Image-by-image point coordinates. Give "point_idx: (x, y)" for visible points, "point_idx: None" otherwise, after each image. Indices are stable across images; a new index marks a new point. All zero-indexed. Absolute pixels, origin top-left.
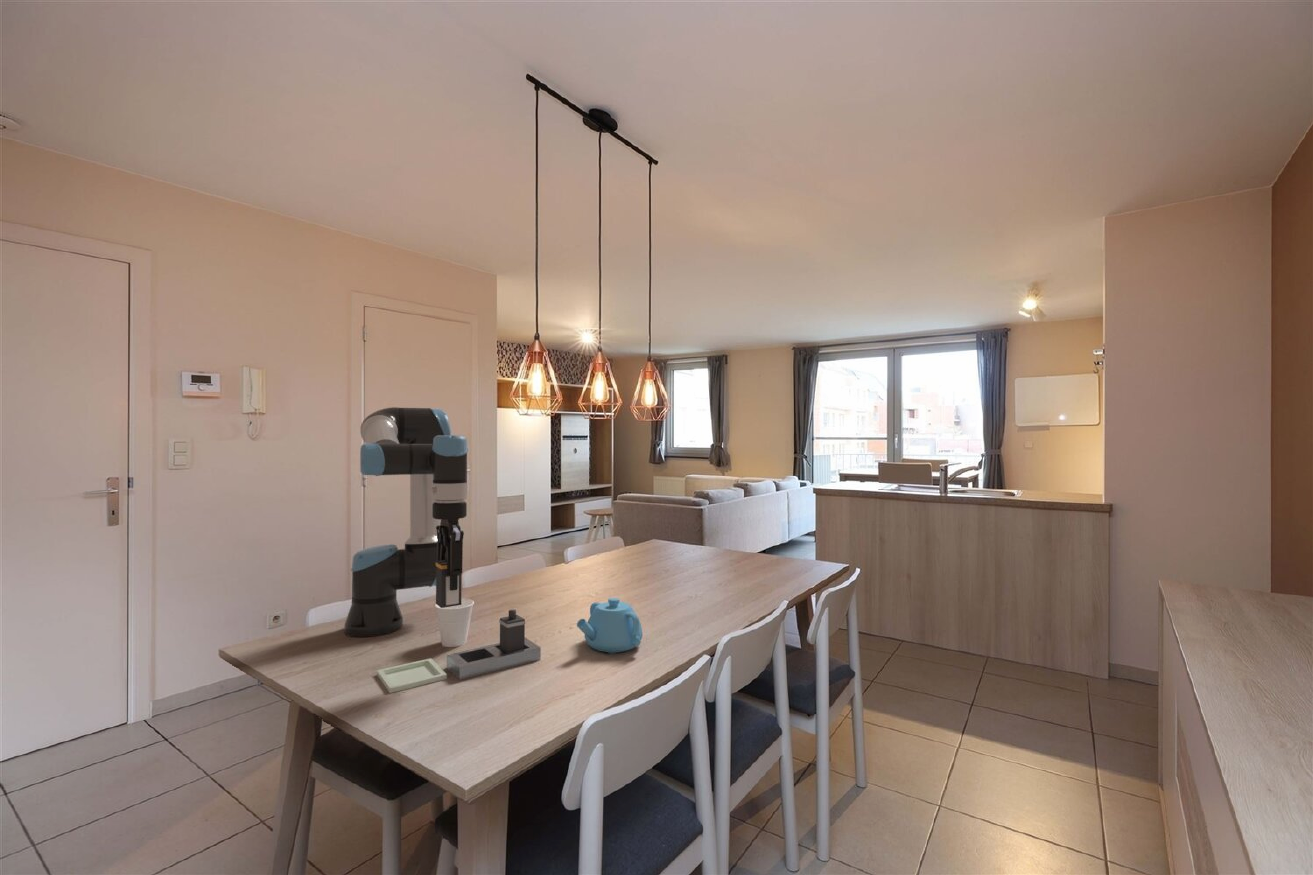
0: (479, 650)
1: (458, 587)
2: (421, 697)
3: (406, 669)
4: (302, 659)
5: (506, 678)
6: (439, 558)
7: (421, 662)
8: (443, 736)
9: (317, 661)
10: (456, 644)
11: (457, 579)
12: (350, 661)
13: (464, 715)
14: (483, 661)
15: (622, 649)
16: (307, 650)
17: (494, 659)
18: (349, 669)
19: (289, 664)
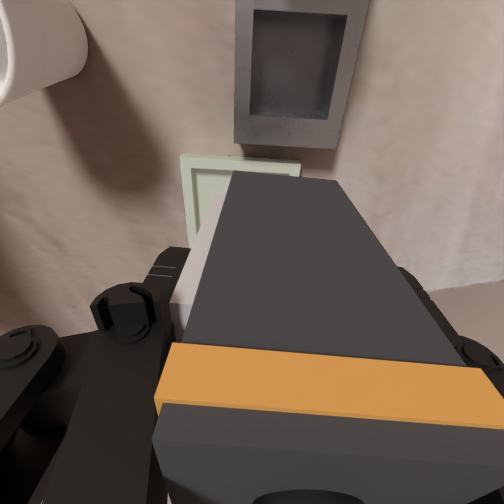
0: (252, 33)
1: None
2: None
3: (196, 208)
4: (54, 306)
5: (406, 19)
6: (35, 497)
7: (192, 181)
8: (482, 240)
9: (72, 294)
10: (85, 42)
11: (448, 323)
12: (92, 262)
13: (462, 192)
14: (351, 73)
15: None
16: (8, 295)
17: (361, 28)
18: (132, 270)
19: (72, 319)
